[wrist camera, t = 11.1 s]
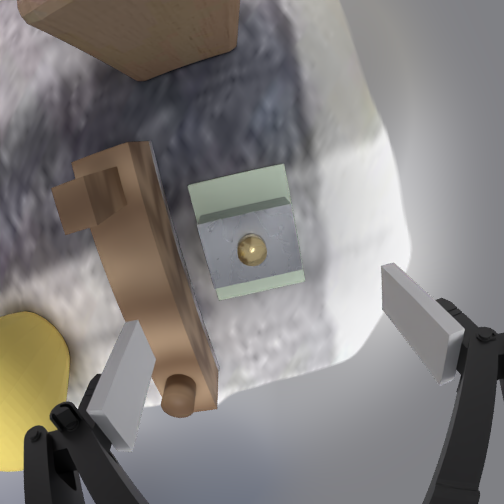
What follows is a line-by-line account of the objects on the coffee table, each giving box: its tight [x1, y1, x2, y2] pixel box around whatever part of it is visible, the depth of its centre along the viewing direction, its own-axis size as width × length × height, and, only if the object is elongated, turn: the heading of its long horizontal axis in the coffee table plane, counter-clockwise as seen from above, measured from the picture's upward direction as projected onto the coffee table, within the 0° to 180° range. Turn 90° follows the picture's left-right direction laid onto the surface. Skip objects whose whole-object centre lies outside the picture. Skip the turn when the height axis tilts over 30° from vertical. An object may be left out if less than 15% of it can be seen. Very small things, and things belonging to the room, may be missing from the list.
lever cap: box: [197, 197, 303, 289], centre depth 29 cm, size 6×8×5 cm
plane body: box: [51, 141, 219, 418], centre depth 26 cm, size 26×5×13 cm, turn 12°
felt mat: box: [188, 164, 305, 301], centre depth 31 cm, size 12×9×1 cm
